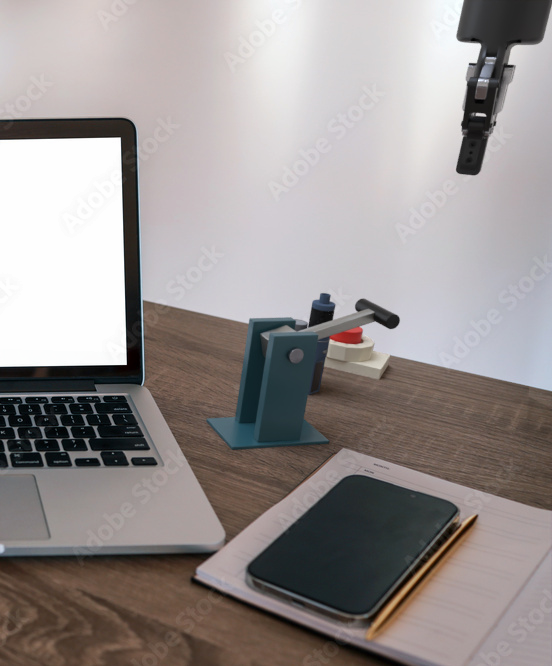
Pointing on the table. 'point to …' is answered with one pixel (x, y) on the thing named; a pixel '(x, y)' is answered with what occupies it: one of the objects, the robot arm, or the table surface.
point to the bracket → (272, 390)
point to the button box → (357, 358)
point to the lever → (343, 322)
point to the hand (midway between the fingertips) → (467, 173)
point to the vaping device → (319, 314)
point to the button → (349, 336)
